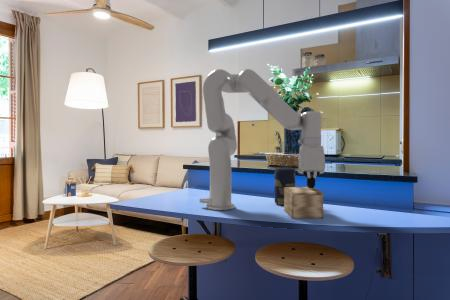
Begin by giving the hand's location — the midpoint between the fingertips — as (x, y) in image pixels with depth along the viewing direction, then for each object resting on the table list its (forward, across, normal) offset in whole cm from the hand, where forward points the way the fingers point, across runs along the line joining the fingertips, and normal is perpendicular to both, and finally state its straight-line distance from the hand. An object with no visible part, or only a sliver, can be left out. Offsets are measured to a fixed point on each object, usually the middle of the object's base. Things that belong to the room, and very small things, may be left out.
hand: (310, 187), depth 131 cm
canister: (+11, -6, +20) cm, 24 cm away
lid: (+2, -3, 0) cm, 4 cm away
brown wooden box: (+11, -3, 0) cm, 11 cm away
